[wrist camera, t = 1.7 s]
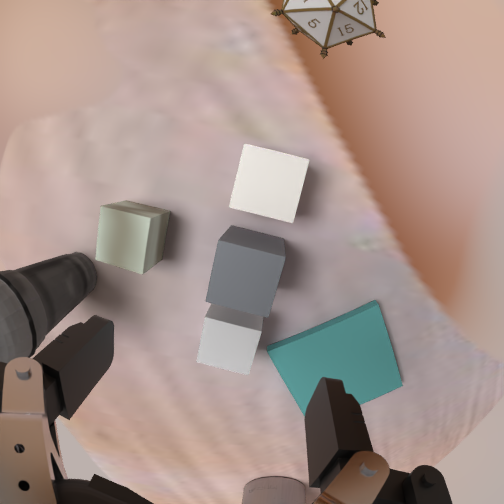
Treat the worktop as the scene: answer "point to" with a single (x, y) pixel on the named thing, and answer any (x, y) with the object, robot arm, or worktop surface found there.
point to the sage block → (131, 235)
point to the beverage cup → (40, 300)
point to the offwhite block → (268, 183)
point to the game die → (331, 20)
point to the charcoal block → (246, 271)
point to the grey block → (229, 339)
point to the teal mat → (340, 357)
